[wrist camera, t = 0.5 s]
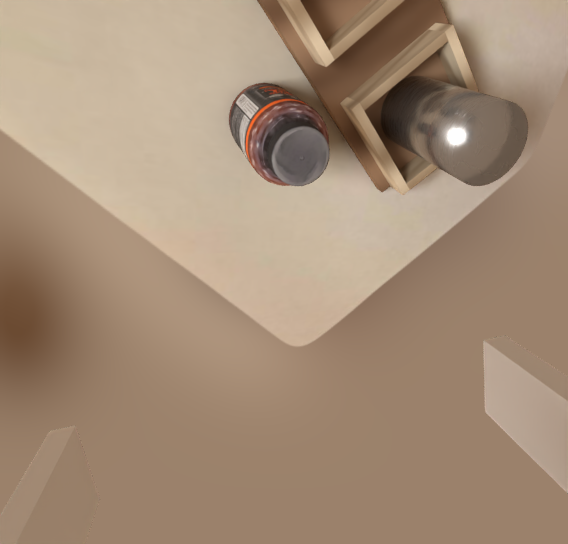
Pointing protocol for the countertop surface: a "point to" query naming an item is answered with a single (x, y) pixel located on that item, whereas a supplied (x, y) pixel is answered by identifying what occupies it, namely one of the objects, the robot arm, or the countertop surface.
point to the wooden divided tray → (371, 68)
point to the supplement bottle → (279, 135)
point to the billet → (455, 128)
